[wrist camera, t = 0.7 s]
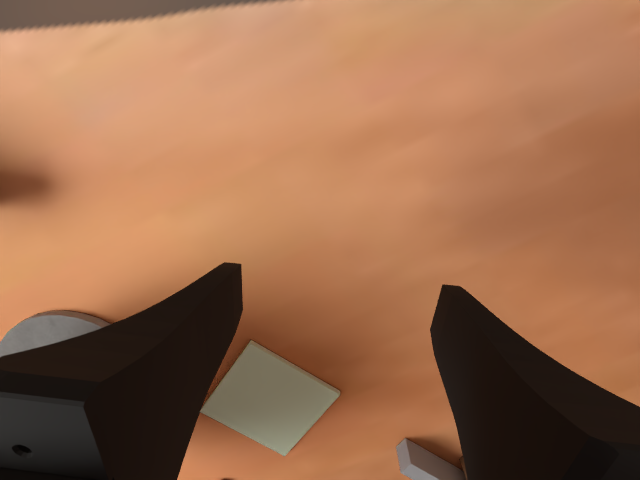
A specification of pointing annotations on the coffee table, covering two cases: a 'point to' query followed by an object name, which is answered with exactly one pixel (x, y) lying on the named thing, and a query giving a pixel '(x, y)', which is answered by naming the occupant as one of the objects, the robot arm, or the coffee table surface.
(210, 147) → the coffee table surface
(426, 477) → the channel
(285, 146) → the coffee table surface
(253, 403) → the pad
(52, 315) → the mate gourd
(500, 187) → the coffee table surface
